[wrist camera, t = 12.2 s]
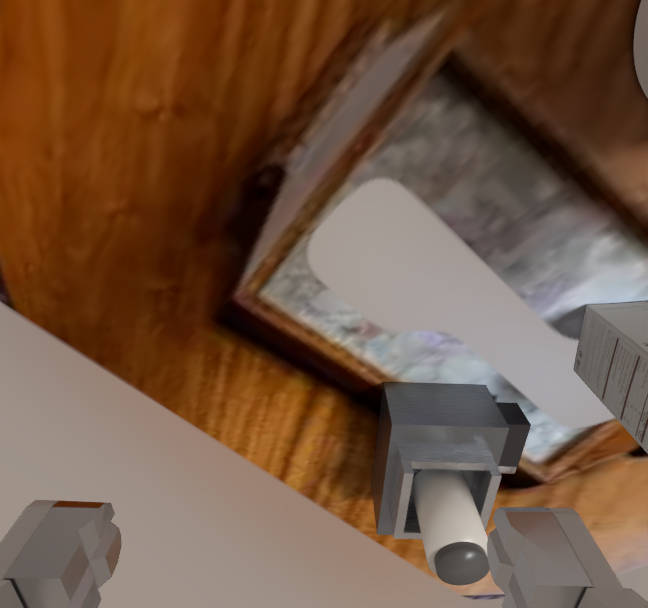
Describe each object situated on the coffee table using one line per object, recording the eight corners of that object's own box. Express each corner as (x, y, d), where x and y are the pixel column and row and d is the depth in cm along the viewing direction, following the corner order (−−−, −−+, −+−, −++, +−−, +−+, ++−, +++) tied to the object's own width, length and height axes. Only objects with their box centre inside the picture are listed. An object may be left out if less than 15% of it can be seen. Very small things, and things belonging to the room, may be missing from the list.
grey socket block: (516, 386, 42) (558, 450, 34) (487, 488, 48) (517, 562, 40) (383, 381, 42) (396, 446, 34) (371, 484, 48) (380, 559, 40)
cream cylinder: (470, 465, 38) (503, 548, 31) (460, 504, 41) (489, 589, 34) (414, 463, 38) (435, 546, 31) (408, 503, 40) (425, 588, 33)
